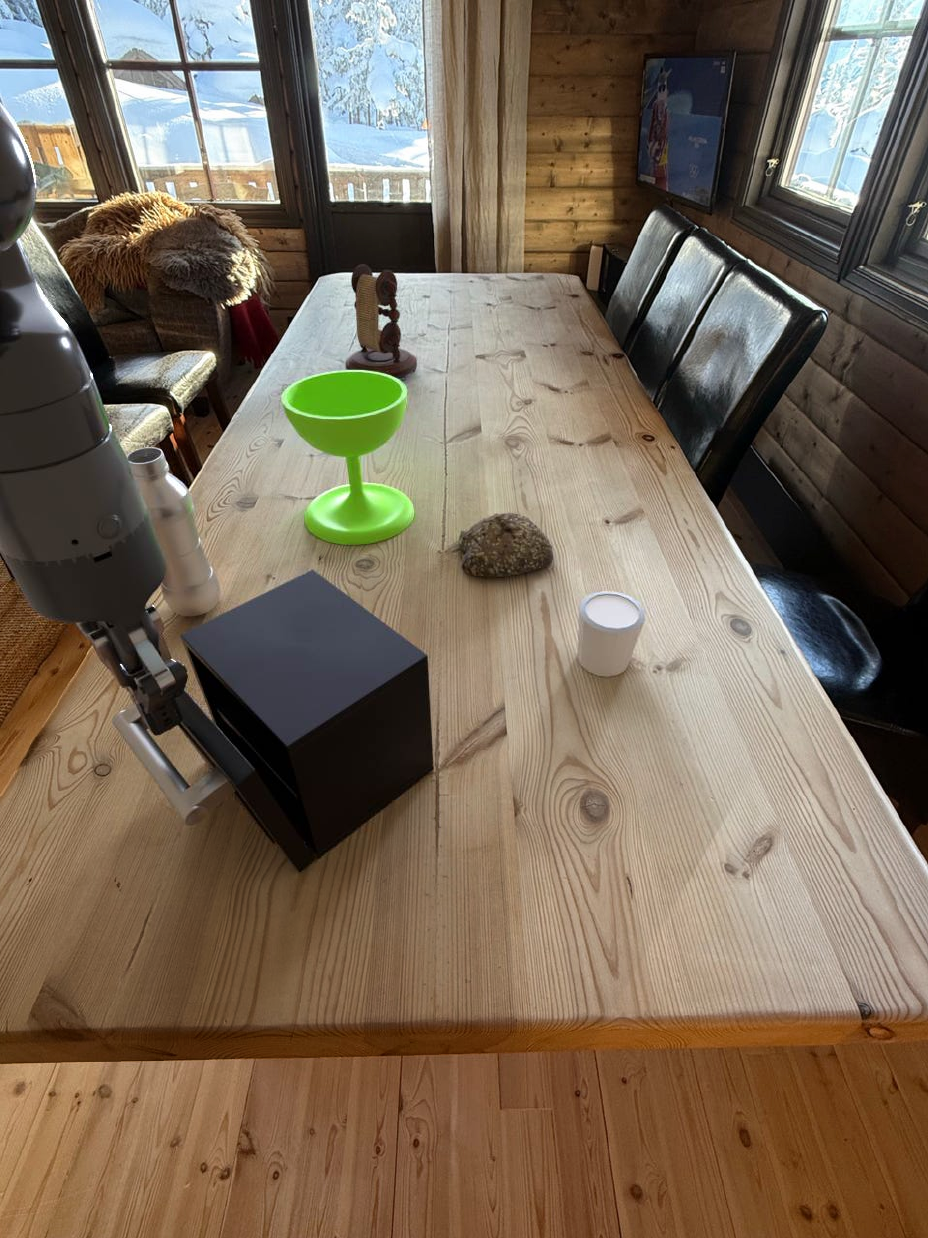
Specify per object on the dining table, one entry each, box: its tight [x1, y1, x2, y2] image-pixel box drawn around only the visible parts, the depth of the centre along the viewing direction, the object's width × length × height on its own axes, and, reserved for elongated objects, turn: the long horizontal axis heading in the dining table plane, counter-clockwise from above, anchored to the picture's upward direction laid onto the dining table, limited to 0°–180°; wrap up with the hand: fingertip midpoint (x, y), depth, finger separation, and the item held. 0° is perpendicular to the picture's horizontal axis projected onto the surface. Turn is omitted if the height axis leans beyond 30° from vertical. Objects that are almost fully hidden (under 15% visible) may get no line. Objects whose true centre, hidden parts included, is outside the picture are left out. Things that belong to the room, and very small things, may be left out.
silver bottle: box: [126, 446, 221, 617], centre depth 74 cm, size 6×7×20 cm
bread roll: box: [457, 512, 554, 578], centre depth 87 cm, size 13×12×5 cm
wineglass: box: [281, 369, 416, 546], centre depth 90 cm, size 16×16×18 cm
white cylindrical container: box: [577, 590, 646, 678], centre depth 71 cm, size 7×7×7 cm
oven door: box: [111, 689, 316, 874], centre depth 53 cm, size 5×16×15 cm, turn 44°
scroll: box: [344, 264, 418, 379], centre depth 131 cm, size 15×15×20 cm
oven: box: [179, 568, 435, 860], centre depth 58 cm, size 13×16×15 cm
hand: (165, 724), depth 47 cm, fingers closed
